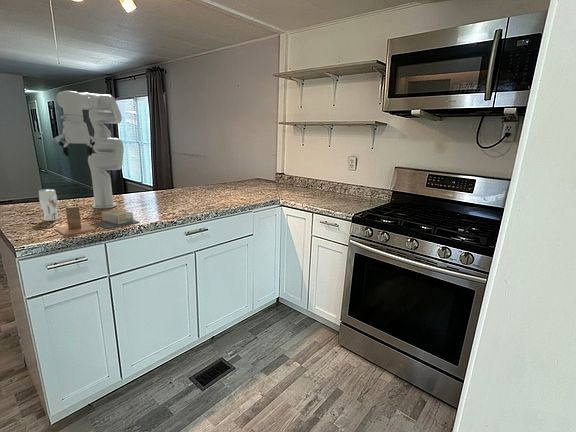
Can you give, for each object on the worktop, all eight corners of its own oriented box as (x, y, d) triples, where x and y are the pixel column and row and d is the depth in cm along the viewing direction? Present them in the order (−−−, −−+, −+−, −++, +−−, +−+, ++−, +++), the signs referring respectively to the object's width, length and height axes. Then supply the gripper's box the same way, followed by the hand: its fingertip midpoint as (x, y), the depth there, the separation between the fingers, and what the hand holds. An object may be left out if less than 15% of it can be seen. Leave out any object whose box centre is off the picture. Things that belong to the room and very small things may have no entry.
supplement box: (102, 220, 156) (118, 224, 150) (101, 211, 155) (117, 215, 149) (117, 217, 164) (133, 221, 158) (116, 208, 162) (132, 212, 156)
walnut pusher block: (68, 228, 141) (65, 206, 139) (78, 226, 145) (75, 205, 142) (71, 230, 139) (68, 208, 137) (81, 228, 142) (78, 207, 140)
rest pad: (55, 229, 141) (55, 228, 141) (85, 224, 150) (85, 223, 150) (64, 235, 134) (64, 234, 133) (95, 230, 143) (95, 228, 143)
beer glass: (51, 221, 153) (46, 191, 149) (39, 220, 154) (34, 190, 150) (63, 218, 159) (59, 189, 155) (51, 217, 160) (47, 188, 157)
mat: (94, 223, 153) (94, 222, 153) (127, 217, 165) (127, 217, 165) (105, 228, 145) (105, 228, 145) (139, 222, 157) (139, 221, 157)
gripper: (54, 117, 138) (60, 156, 142) (97, 120, 151) (101, 155, 155) (49, 117, 142) (54, 155, 147) (91, 120, 156) (94, 154, 160)
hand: (78, 155), depth 151 cm, fingers open, 9 cm apart
